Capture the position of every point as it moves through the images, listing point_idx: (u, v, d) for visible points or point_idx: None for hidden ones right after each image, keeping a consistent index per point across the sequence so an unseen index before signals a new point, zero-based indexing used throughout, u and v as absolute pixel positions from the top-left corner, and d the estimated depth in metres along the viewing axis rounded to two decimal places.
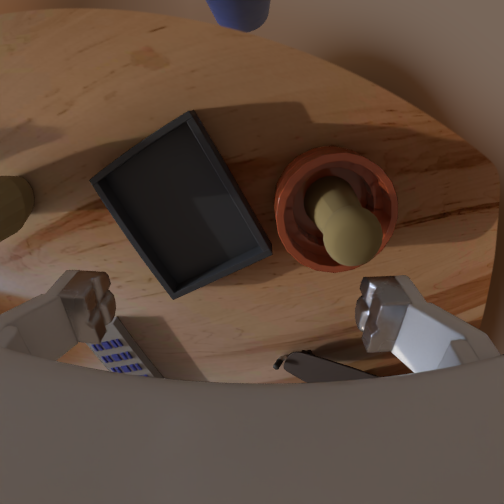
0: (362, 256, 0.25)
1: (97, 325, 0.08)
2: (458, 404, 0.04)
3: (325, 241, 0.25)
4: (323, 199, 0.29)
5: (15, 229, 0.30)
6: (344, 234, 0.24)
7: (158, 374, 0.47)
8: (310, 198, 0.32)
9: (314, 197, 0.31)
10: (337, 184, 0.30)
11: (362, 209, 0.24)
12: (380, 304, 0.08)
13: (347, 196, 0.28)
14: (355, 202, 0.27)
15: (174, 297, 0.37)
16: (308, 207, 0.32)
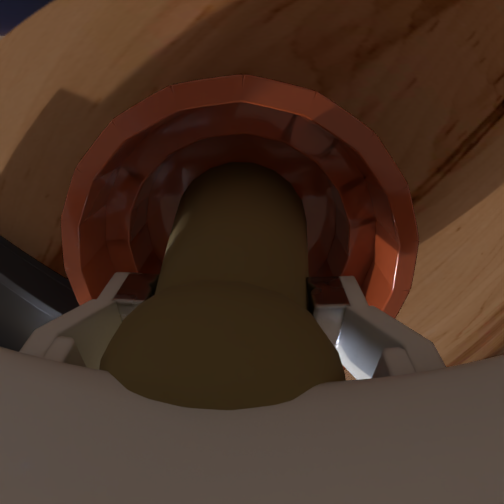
0: None
1: None
2: (458, 404, 0.04)
3: None
4: None
5: None
6: None
7: None
8: None
9: None
10: (197, 195, 0.11)
11: (150, 321, 0.05)
12: (313, 305, 0.08)
13: (195, 229, 0.09)
14: (215, 241, 0.08)
15: None
16: None
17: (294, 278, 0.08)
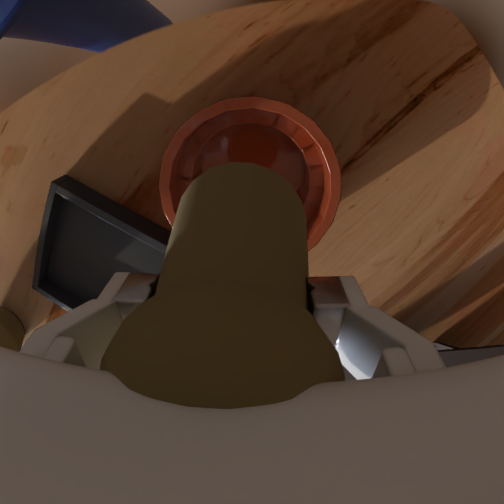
0: None
1: None
2: (458, 404, 0.04)
3: None
4: None
5: None
6: None
7: None
8: None
9: None
10: (197, 196, 0.11)
11: (151, 321, 0.05)
12: (313, 305, 0.08)
13: (195, 229, 0.09)
14: (215, 241, 0.08)
15: None
16: None
17: (295, 278, 0.08)
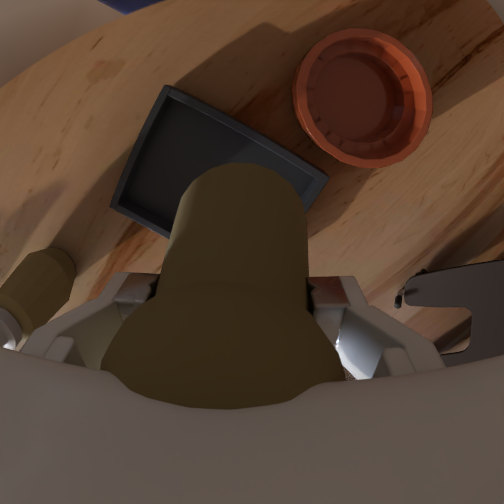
0: None
1: None
2: (458, 404, 0.04)
3: None
4: None
5: (64, 296, 0.32)
6: None
7: None
8: None
9: None
10: (197, 196, 0.11)
11: (151, 323, 0.05)
12: (313, 305, 0.08)
13: (195, 230, 0.09)
14: (216, 242, 0.08)
15: None
16: None
17: (295, 279, 0.08)
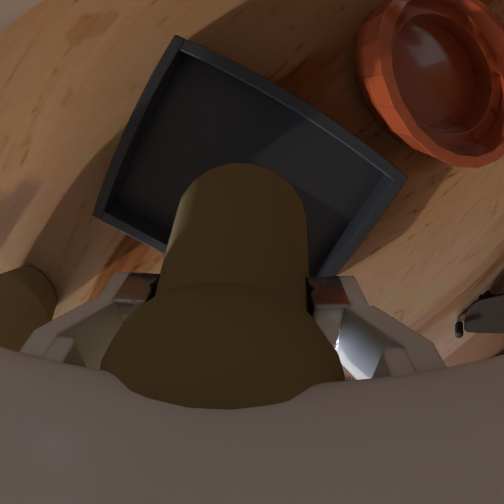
0: None
1: None
2: (458, 404, 0.04)
3: None
4: None
5: None
6: None
7: None
8: None
9: None
10: (197, 196, 0.11)
11: (150, 323, 0.05)
12: (313, 305, 0.08)
13: (195, 230, 0.09)
14: (215, 242, 0.08)
15: None
16: None
17: (294, 279, 0.08)
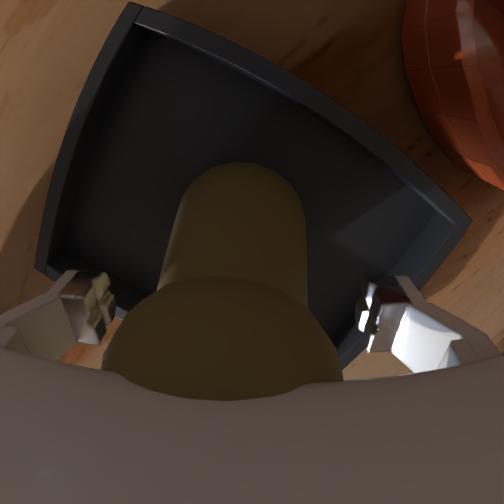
0: None
1: (97, 325, 0.08)
2: (458, 404, 0.04)
3: None
4: None
5: None
6: None
7: None
8: None
9: None
10: (198, 195, 0.11)
11: (153, 315, 0.05)
12: (380, 304, 0.08)
13: (196, 228, 0.09)
14: (216, 239, 0.08)
15: None
16: None
17: (293, 275, 0.08)
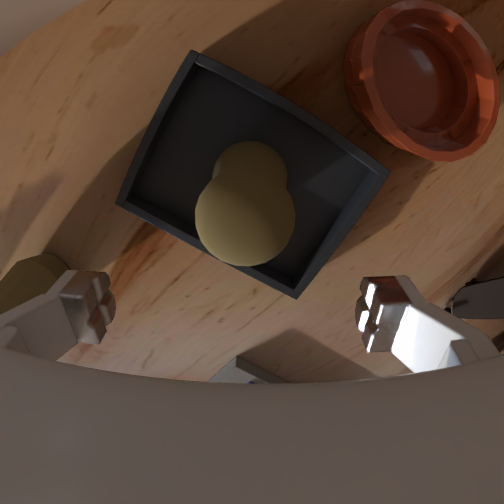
0: (265, 241, 0.15)
1: (97, 325, 0.08)
2: (458, 404, 0.04)
3: None
4: None
5: None
6: (211, 227, 0.15)
7: None
8: None
9: None
10: (229, 154, 0.21)
11: (224, 173, 0.15)
12: (380, 304, 0.08)
13: (231, 163, 0.19)
14: (242, 164, 0.18)
15: (297, 295, 0.27)
16: None
17: None
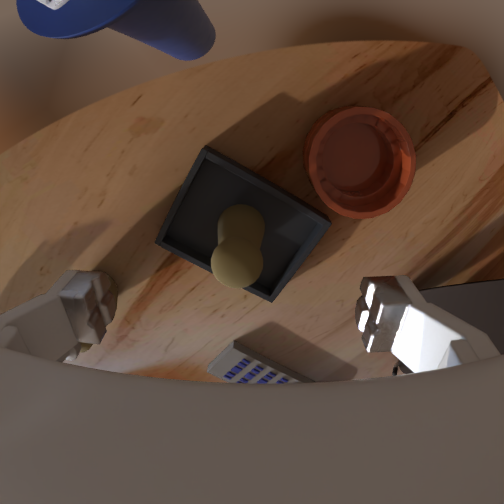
0: (247, 277, 0.30)
1: (97, 325, 0.08)
2: (458, 404, 0.04)
3: (217, 278, 0.31)
4: (218, 238, 0.35)
5: None
6: (219, 270, 0.30)
7: (292, 372, 0.52)
8: None
9: None
10: (227, 217, 0.36)
11: (226, 242, 0.30)
12: (380, 304, 0.08)
13: (229, 227, 0.34)
14: (235, 230, 0.33)
15: (272, 300, 0.42)
16: None
17: (254, 239, 0.33)
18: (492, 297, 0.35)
